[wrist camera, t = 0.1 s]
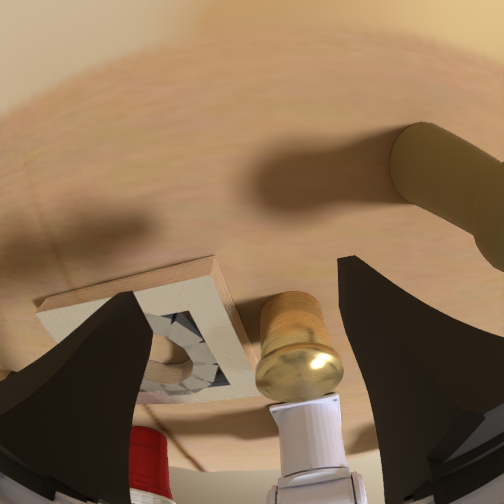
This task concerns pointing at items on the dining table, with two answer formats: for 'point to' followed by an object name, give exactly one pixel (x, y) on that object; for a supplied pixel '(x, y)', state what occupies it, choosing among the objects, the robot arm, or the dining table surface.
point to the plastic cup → (148, 467)
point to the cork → (452, 183)
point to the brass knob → (295, 350)
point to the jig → (174, 330)
